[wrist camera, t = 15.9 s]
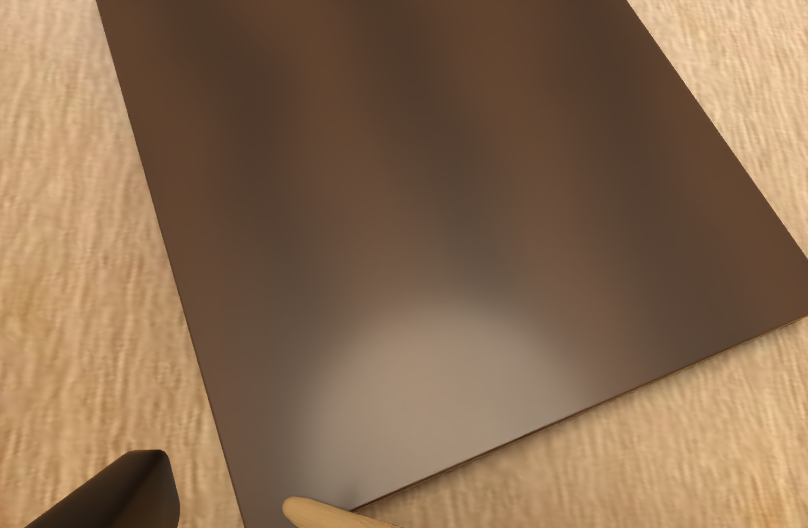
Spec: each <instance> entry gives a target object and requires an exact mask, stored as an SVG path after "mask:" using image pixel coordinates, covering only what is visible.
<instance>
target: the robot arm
mask: <svg viewBox="0 0 808 528" xmlns="http://www.w3.org/2000/svg"><path fill="white" fill-rule="evenodd" d="M179 516H180V502H179V497H178V493H177V489H176V485H175V481H174V477H173V473H172V469H171V465H170V461H169V458H168V456H167V454H166V453H165V452H164V451H162V450H134V451H130V452H127V453H126V454H124V455H122V456H121V457H120V458H118V459H117V460H116V461H114V462H113V463H112V464H110V465H109V466H107V467H106V468H105V469H103V470H102V471H101V472H99V473H98V474H97V475H95V476H94V477H93V478H91V479H90V480H88V481H87V482H86V483H84V484H83V485H82V486H80V487H79V488H78V489H76V490H75V491H73V492H72V493H71V494H69V495H68V496H67V497H65V498H64V499H63V500H61V501H60V502H59V503H57V504H56V505H54V506H53V507H52V508H50V509H49V510H48V511H46V512H45V513H44V514H42V515H41V516H39V517H38V518H37V519H35V520H34V521H33V522H31V523H30V524H29V525H27V526H26V527H25V528H177V527H178V522H179Z"/></svg>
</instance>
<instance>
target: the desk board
mask: <svg viewBox="0 0 808 528" xmlns="http://www.w3.org/2000/svg"><path fill="white" fill-rule="evenodd" d="M96 2H97V6H98V9H99V13H100V16H101V20H102V24H103V27H104V31H105V34H106V38H107V41H108V45H109V48H110V52H111V55H112V59H113V63H114V66H115V70H116V73H117V77H118V80H119V84H120V87H121V91H122V95H123V98H124V102H125V105H126V109H127V112H128V116H129V119H130V123H131V126H132V130H133V134H134V137H135V141H136V144H137V148H138V151H139V155H140V158H141V162H142V166H143V169H144V173H145V176H146V180H147V183H148V187H149V190H150V194H151V197H152V201H153V205H154V208H155V212H156V215H157V219H158V222H159V226H160V229H161V233H162V237H163V240H164V244H165V247H166V251H167V254H168V258H169V261H170V265H171V268H172V272H173V276H174V279H175V283H176V286H177V290H178V293H179V297H180V300H181V304H182V308H183V311H184V315H185V318H186V322H187V325H188V329H189V332H190V336H191V339H192V343H193V347H194V350H195V354H196V357H197V361H198V364H199V368H200V371H201V375H202V379H203V382H204V386H205V389H206V393H207V396H208V400H209V403H210V407H211V410H212V414H213V418H214V421H215V425H216V428H217V432H218V435H219V439H220V442H221V446H222V450H223V453H224V457H225V460H226V464H227V467H228V471H229V474H230V478H231V481H232V485H233V489H234V492H235V496H236V499H237V503H238V506H239V510H240V513H241V517H242V521H243V524H244V528H299V527H297V526H295V525H294V524H293V523H292V522H291V521H290V520H289V519H288V518H287V517H285V515H284V513H283V509H282V506H283V503H284V501H285V500H286V499H288V498H290V497H293V496H295V497H303V498H309V499H312V500H315V501H318V502H321V503H324V504H327V505H330V506H334V507H336V508H339V509H342V510H345V511H349V512H352V513H354V512H356V511H358V510H361V509H363V508H365V507H368V506H370V505H372V504H375V503H377V502H379V501H382V500H384V499H386V498H388V497H391V496H393V495H395V494H398V493H400V492H402V491H405V490H407V489H409V488H412V487H414V486H416V485H419V484H421V483H423V482H426V481H428V480H430V479H432V478H435V477H437V476H439V475H442V474H444V473H446V472H449V471H451V470H453V469H456V468H458V467H460V466H463V465H465V464H467V463H469V462H472V461H474V460H476V459H479V458H481V457H483V456H486V455H488V454H490V453H493V452H495V451H497V450H500V449H502V448H504V447H507V446H509V445H511V444H513V443H516V442H518V441H520V440H523V439H525V438H527V437H530V436H532V435H534V434H537V433H539V432H541V431H544V430H546V429H548V428H551V427H553V426H555V425H557V424H560V423H562V422H564V421H567V420H569V419H571V418H574V417H576V416H578V415H581V414H583V413H585V412H588V411H590V410H592V409H594V408H597V407H599V406H601V405H604V404H606V403H608V402H611V401H613V400H615V399H618V398H620V397H622V396H625V395H627V394H629V393H632V392H634V391H636V390H638V389H641V388H643V387H645V386H648V385H650V384H652V383H655V382H657V381H659V380H662V379H664V378H666V377H669V376H671V375H673V374H675V373H678V372H680V371H682V370H685V369H687V368H689V367H692V366H694V365H696V364H699V363H701V362H703V361H706V360H708V359H710V358H713V357H715V356H717V355H719V354H722V353H724V352H726V351H729V350H731V349H733V348H736V347H738V346H740V345H743V344H745V343H747V342H750V341H752V340H754V339H757V338H759V337H761V336H763V335H766V334H768V333H770V332H773V331H775V330H777V329H780V328H782V327H784V326H787V325H789V324H791V323H794V322H796V321H798V320H800V319H803V318H805V317H807V316H808V259H807V257H806V256H805V255H804V253H803V252H802V250H801V249H800V247H799V246H798V245H797V243H796V242H795V240H794V239H793V237H792V236H791V235H790V233H789V232H788V230H787V229H786V227H785V226H784V225H783V223H782V222H781V220H780V219H779V217H778V216H777V215H776V213H775V212H774V210H773V209H772V207H771V206H770V205H769V203H768V202H767V200H766V199H765V197H764V196H763V195H762V193H761V192H760V190H759V189H758V187H757V186H756V185H755V183H754V182H753V180H752V179H751V177H750V176H749V175H748V173H747V172H746V170H745V169H744V167H743V166H742V165H741V163H740V162H739V160H738V159H737V157H736V156H735V155H734V153H733V152H732V150H731V149H730V147H729V146H728V145H727V143H726V142H725V140H724V139H723V137H722V136H721V135H720V133H719V132H718V130H717V129H716V127H715V126H714V125H713V123H712V122H711V120H710V119H709V117H708V116H707V115H706V113H705V112H704V110H703V109H702V107H701V106H700V105H699V103H698V102H697V100H696V99H695V97H694V96H693V95H692V93H691V92H690V90H689V89H688V87H687V86H686V85H685V83H684V82H683V80H682V79H681V77H680V76H679V74H678V73H677V72H676V70H675V69H674V67H673V66H672V64H671V63H670V62H669V60H668V59H667V57H666V56H665V54H664V53H663V52H662V50H661V49H660V47H659V46H658V44H657V43H656V42H655V40H654V39H653V37H652V36H651V34H650V33H649V32H648V30H647V29H646V27H645V26H644V24H643V23H642V22H641V20H640V19H639V17H638V16H637V14H636V13H635V12H634V10H633V9H632V7H631V6H630V4H629V3H628V2H627V0H96Z"/></svg>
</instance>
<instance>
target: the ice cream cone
mask: <svg viewBox="0 0 808 528" xmlns="http://www.w3.org/2000/svg"><path fill="white" fill-rule="evenodd" d="M282 509H283V513H284V515H285V517H287V518H288V519H289V520H290V521H291V522H292V523H293V524H294V525H295V526H297V527H299V528H402V527H399V526H395V525H393V524H390V523H386V522H383V521H380V520H376V519H373V518H369V517H366V516H362V515H358V514H355V513H352V512H349V511H345V510H342V509H339V508H336V507H334V506H330V505H327V504H324V503H321V502H318V501H315V500H312V499H309V498H303V497H295V496H293V497H290V498H288V499H286V500H285V501H284V503H283V506H282Z"/></svg>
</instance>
